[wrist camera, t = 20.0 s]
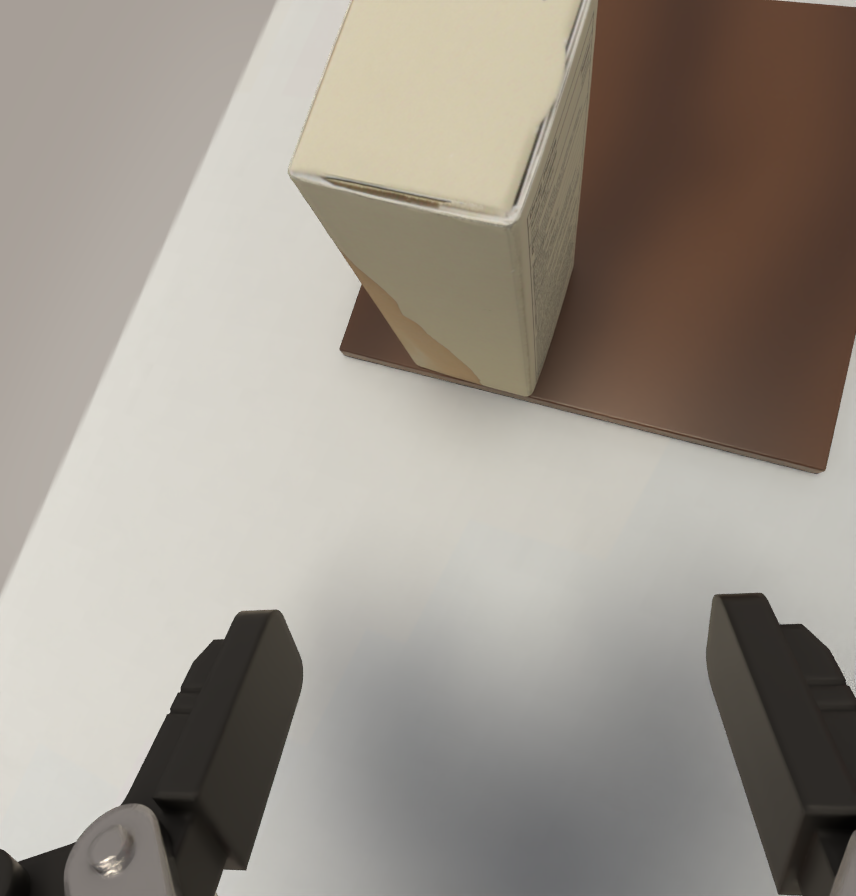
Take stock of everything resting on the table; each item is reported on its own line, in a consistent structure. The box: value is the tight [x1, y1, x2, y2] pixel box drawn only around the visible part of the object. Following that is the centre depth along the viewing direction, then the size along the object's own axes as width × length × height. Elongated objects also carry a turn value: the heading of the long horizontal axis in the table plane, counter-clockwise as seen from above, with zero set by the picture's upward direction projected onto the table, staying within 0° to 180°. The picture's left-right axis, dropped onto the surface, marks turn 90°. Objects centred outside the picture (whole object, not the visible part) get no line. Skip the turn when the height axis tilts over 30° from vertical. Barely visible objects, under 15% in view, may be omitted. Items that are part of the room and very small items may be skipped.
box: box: [288, 0, 598, 396], centre depth 16 cm, size 5×4×11 cm
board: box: [340, 0, 856, 474], centre depth 21 cm, size 16×16×1 cm
